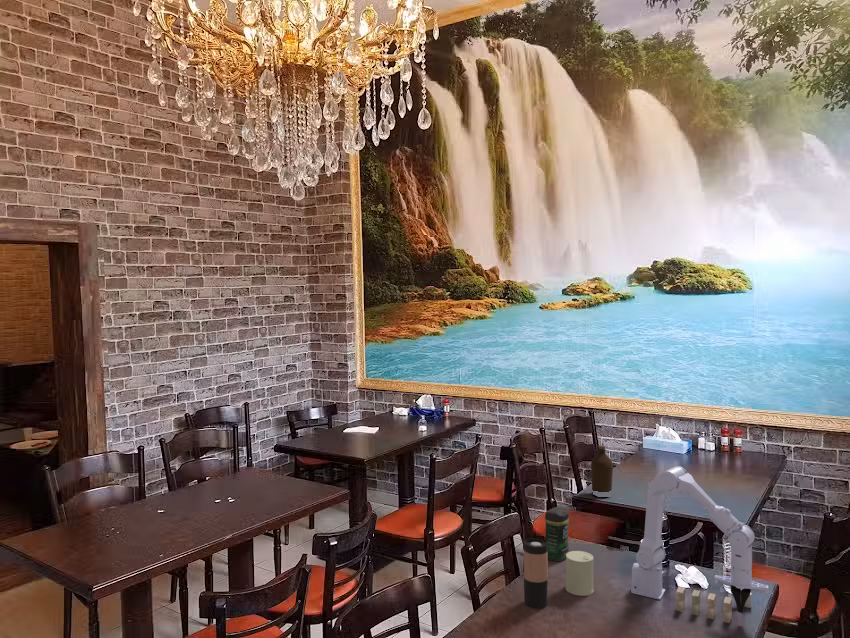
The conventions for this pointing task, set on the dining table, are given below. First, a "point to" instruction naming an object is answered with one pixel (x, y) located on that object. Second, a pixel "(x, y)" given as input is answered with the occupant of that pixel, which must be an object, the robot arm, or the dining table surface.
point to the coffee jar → (557, 533)
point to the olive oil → (601, 471)
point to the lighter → (748, 602)
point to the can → (579, 573)
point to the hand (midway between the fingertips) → (740, 611)
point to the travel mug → (535, 573)
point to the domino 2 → (695, 602)
